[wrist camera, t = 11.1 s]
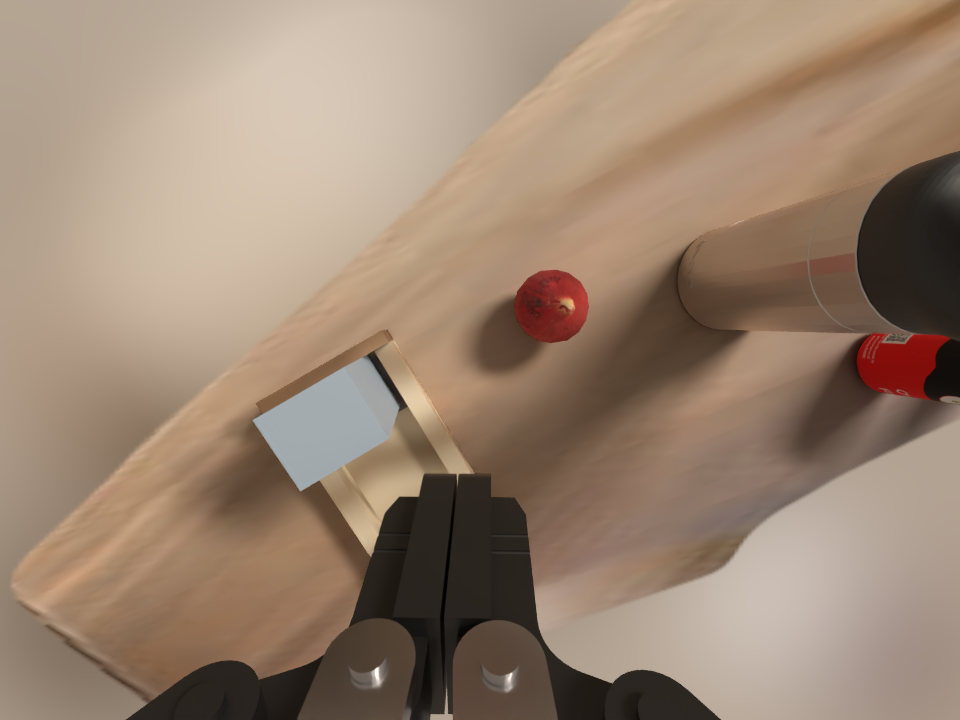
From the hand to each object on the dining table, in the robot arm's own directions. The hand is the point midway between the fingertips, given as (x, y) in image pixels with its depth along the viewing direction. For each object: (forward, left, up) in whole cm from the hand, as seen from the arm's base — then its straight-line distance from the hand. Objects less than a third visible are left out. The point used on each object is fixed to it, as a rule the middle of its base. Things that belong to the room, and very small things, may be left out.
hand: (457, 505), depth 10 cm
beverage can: (-41, -12, -29) cm, 52 cm away
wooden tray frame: (+1, +8, -29) cm, 30 cm away
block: (+6, +4, -28) cm, 29 cm away
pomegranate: (-7, -8, -29) cm, 31 cm away
